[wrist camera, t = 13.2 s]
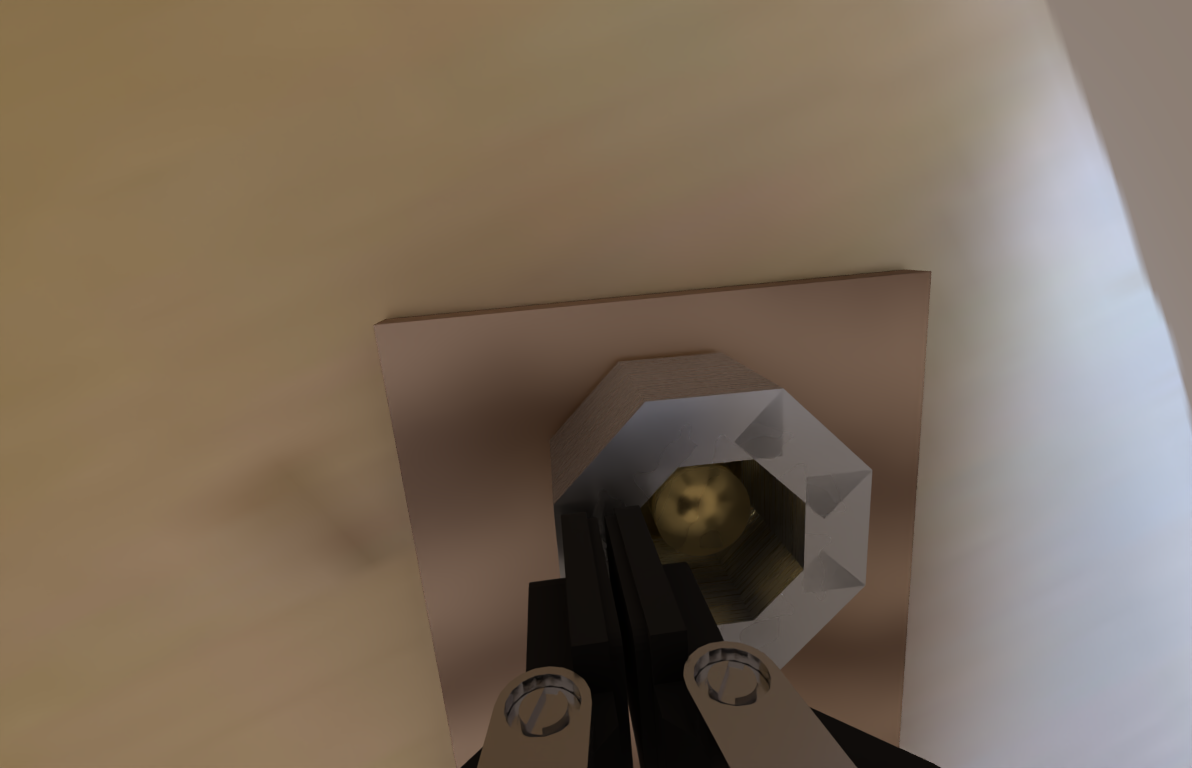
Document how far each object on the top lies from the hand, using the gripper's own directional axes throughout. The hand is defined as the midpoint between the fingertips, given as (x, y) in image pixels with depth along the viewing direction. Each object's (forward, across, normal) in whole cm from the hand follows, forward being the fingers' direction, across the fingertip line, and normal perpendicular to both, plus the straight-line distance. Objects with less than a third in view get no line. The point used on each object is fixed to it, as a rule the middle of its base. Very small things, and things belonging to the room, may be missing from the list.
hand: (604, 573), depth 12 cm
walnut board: (+6, -3, +7) cm, 10 cm away
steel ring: (+4, -3, 0) cm, 5 cm away
